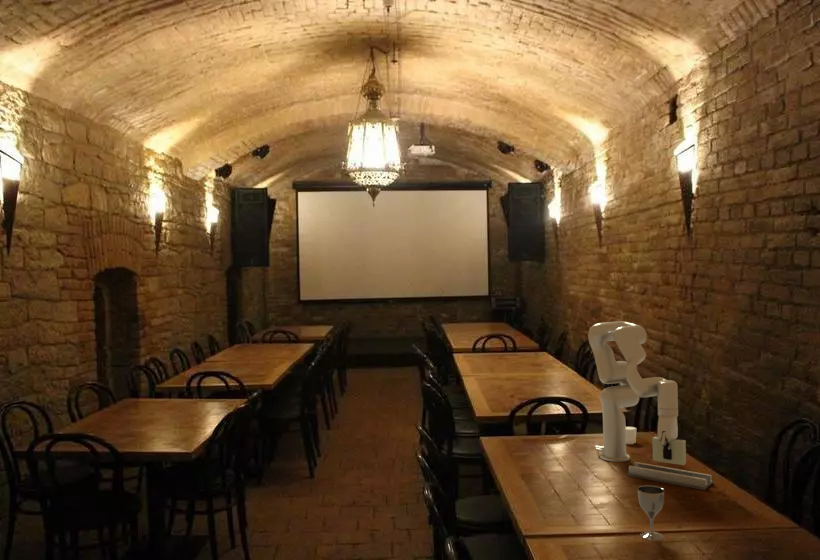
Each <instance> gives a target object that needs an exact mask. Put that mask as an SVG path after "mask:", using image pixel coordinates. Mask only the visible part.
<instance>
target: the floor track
mask: <svg viewBox="0 0 820 560" xmlns="http://www.w3.org/2000/svg"><path fill="white" fill-rule="evenodd" d="M626 475H627V477H632V478H638V479H642V480H648V481H652V482H653V481H654V482H660V483H665V484H670V485H674V486H675V485H676V486H679V487H680V486H681V487H686V488H690V487H691V489H697V490H702V491H706V490H707V489H708V488H710V486H711V485H712V484H713V483H714V482H713V480H712V474H709V473H704V472H703V473H702V472H696V471H691V470H690V471H689V470H685V469H679V468H673V467H669V466H668V467H667V466H663V465H657V464H656V465H654V464H649V463H643V462H638V461H635V462H634V465H629V466H628V472H627V474H626Z"/></svg>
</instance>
